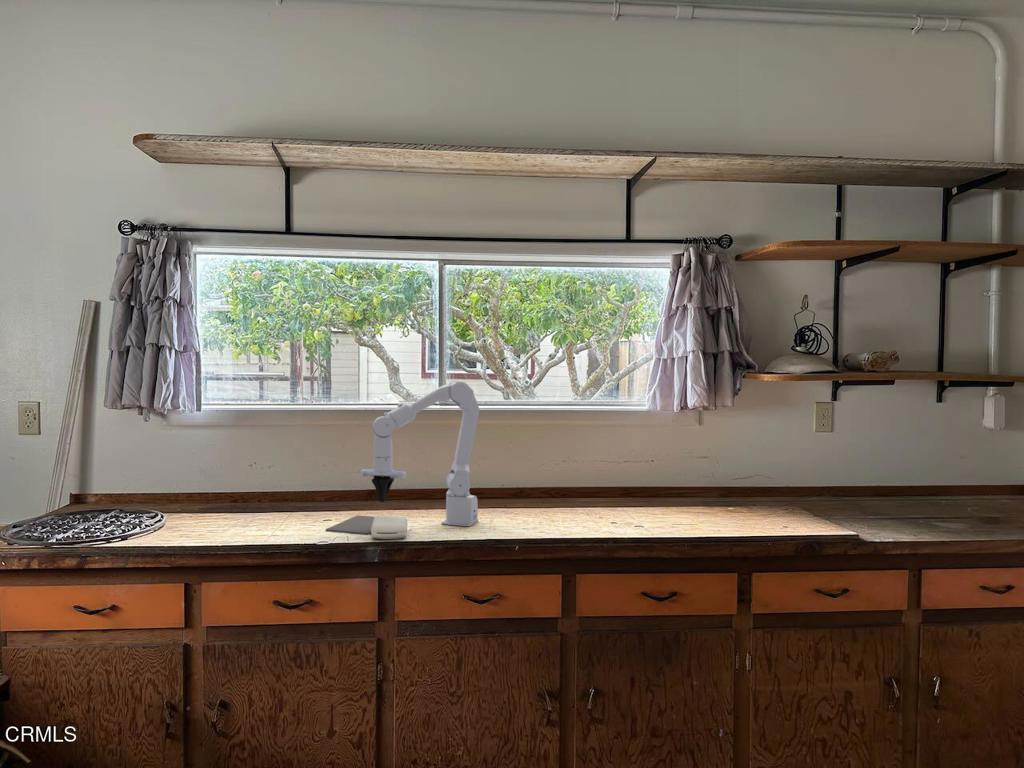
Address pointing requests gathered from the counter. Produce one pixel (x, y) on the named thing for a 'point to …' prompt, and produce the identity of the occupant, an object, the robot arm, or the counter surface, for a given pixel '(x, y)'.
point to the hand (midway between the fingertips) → (383, 501)
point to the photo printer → (389, 527)
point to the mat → (354, 525)
